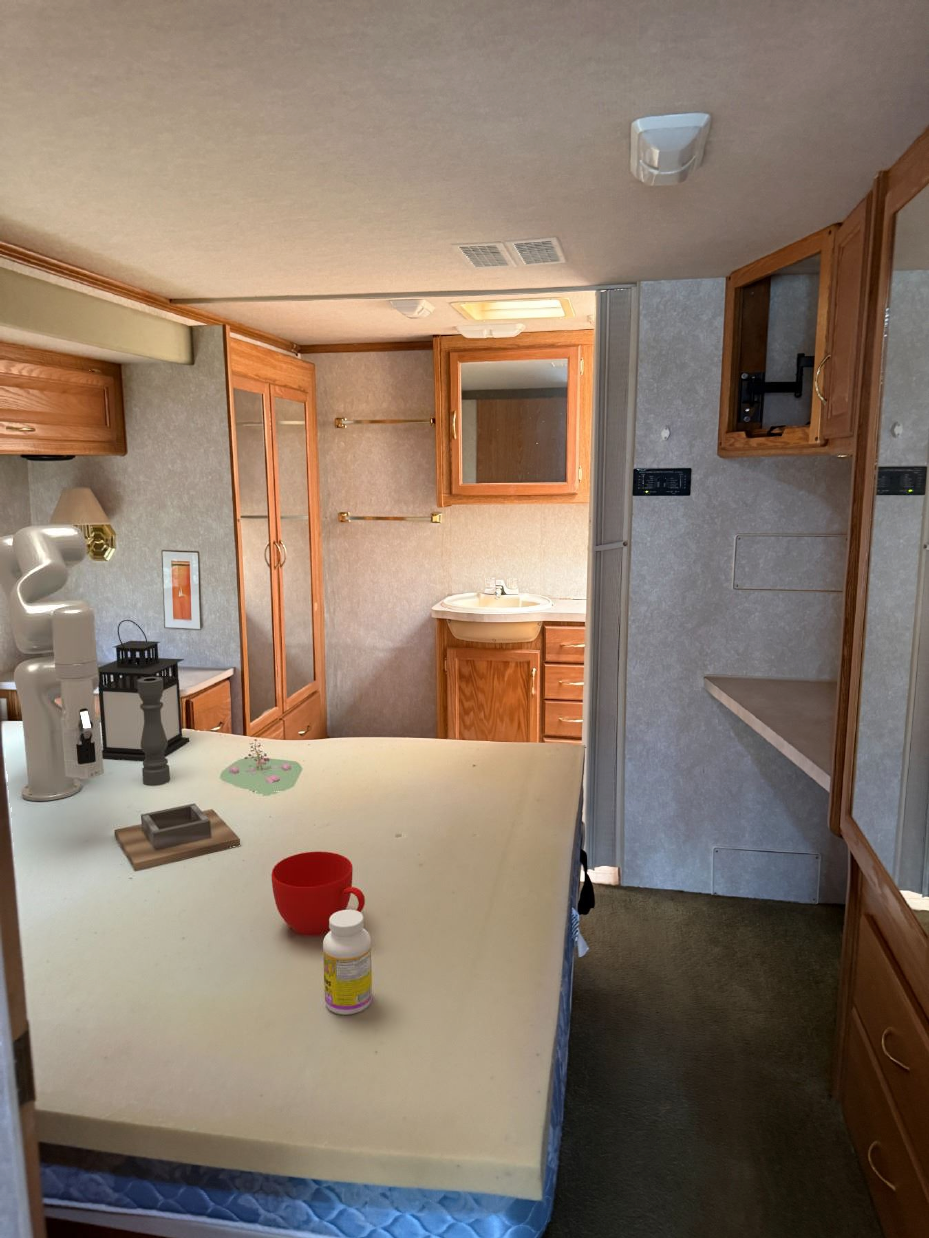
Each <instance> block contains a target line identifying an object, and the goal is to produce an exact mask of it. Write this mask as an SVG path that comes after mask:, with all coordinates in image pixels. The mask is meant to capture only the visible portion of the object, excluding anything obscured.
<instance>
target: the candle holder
mask: <svg viewBox="0 0 929 1238" xmlns="http://www.w3.org/2000/svg"><path fill="white" fill-rule="evenodd" d="M137 683H138V694H139V695H140V698H141V700H142V701H143V703H142V704H141V705H140V708H141V709H142V710H143V712H144V727H143V732H142V738H141V749H142V751H143V752H144V753H145V756H146V758H145V760H144V761H143V762H142V766H143V767H142V769H141V772H142V776H141V777H142V784H143V785H144V786H148V787H151V786H152V787H155V786H161V785H166V784H167V783H169V782H170V781H171V774H170V771H171V770H170V765H169V764H168V762H169V760H168V758H166V757H165V756H163V755H164V754H165V753H164V751H165V750H166V748H167V745H168V742H167V738H166V735H165V732H164V729H163V725H162V722H161V708H162V707H163V703H162V702H160V700H161V697H162V693H163V678H161V677H146V678H141V679H138V680H137Z"/></svg>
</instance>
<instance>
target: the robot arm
mask: <svg viewBox="0 0 929 1238" xmlns="http://www.w3.org/2000/svg"><path fill="white" fill-rule="evenodd" d="M87 547H88V545H87V541H86V537H85V535H84V533H83V531H82V530H81V529H80V528H79V527H77V526H75V525H72V524H54V525H53V524H51V525H30V526H26V527H23V528H20V529H18V531H16V532H15V534H10V535H9V534H8V535H4V536H0V587H1V589H2V590H3V592H4V595H5V597H6V600H7V604H8V610H9V615H10V623H11V628H12V632H13V637H14V641H15V645H16V647H17V649H18V650H19V651H20V652H21V653H24V654H27V655H28V654H31V655H32V654H33V655H34V654H35V655H36V654H46V653H53V655H51V656H42V657H35V658H30V659H28V660H24V661H23V662H20V663H19V664H18V665H16V667H15V668H14V672H13V681H14V685H15V688H16V692H17V697H18V700H19V705H20V711H21V717H22V718H21V719H22V730H23V737H24V738H23V739H24V751H25V760H26V761H25V763H26V773H27V775H26V776H27V782H28V783H27V785H25V786H24V787H23V788H22V789H21V791H20V792H21V793H20V794H21V797H22V798H23V799H24V800H27V801H32V802H46V801H55V800H60V799H64V798H67V797H70V796H73V795H74V794H76V793H78V792H79V791H81V790H82V788H83V785H82V781H81V779H79V778H72V777H66V775H65V763H64V751H63V739H62V727H61V718H64V721H65V726H66V728H67V729H68V730H69V731H70V732H72V731H73V730H76V734H77V741H78V744H76V748H77V761H78V764H80V765H81V764H87V763H92V762H95V761H96V756H95V742H94V738H93V732H92V729H93V728H94V727H95V725H96V718H95V716H96V703H95V693H94V692H95V691H96V690H97V689H98V685H99V669H98V667H99V664H98V655H97V642H96V630H95V629H96V627H95V621H96V620H95V613H94V609H93V607H92V606H91V605H90V604H89V603H88V601H85V600H82V599H69V600H56V601H50V597H49V596H50V595H53V594H55V593H56V592H58V591H59V590H61V589H62V588H64V586H65V585H66V584H67V582H68V579H69V576H70V575H69V569H71V568H73V567H75V566H77V565H79V564H81V563H82V562H83V561H84V560H85V558H86V556H87V553H88V551H87V549H88V548H87ZM60 698H61V704H59V703H57V701H55V700H57V699H60ZM91 722H93V723H92V724H91ZM81 725H82V727H83V728H78V726H81ZM80 732H83V733H81V736H80Z"/></svg>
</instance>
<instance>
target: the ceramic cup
mask: <svg viewBox="0 0 929 1238" xmlns="http://www.w3.org/2000/svg"><path fill="white" fill-rule="evenodd" d="M271 886H272V892H273V897H274V902H275V906H276V908H277V911H278V913H279V915H280V916H281V918H282V919H283V920H284V922H285V924H287V925H288V926H289V927H290V928H291V929H292V930H294V932H295V933H296V934H298V935H301V936H305V937H317V936H321V935H325V934H326V933H327V934H328V933H329V932H330V931H331V930H330V928H329V919H330V917H331V915H333V914H334V913H336V912H338V911H342V910H347V907H348V905H349V904H350V900H351V895H354V896H355V897H356V899H357V903H358V905H357V908H356V909H355V910H356V911H359V912H360V913H361V912H362V911H363V910H364V908H365V905H366V899H365V895H364V893H363V891H362V890H360V889H359V887H355V886H353V864H352V862H351V860H349V858H347V857H345V856H343V854H340V853H336V852H330V851H307V852H300V853H297V854H293V855H290V856H288V857H285V858H283V859H281V860H280V861H278V862H277V863H276V864H275V865H274V866H273V868H272V871H271Z"/></svg>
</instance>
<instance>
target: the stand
mask: <svg viewBox="0 0 929 1238" xmlns="http://www.w3.org/2000/svg"><path fill="white" fill-rule="evenodd" d="M140 820H141V823H140V824H134V825H130V826H125V827H121V828H115V829H114V838H115V839H116V841H117V843H118V845H119V844H120V845H119V847H120V848H121V849H122V851H123V853H124V855H125V857H126V858H127V860H128V862H129V864H130V865H131V866H132V868H133V870H134V871H141V870H145V869H149V868H154V867H158V866H162V865H165V864H169V863H173V862H178V861H183V860H185V859H190V858H195V857H199V856H203V855H207V854H212V853H215V852H220V851H224V850H228V849H227V848H229V849H231V848H230V847H233V846H237V847H240V846H241V838H240V837H239V836H238V835H237V833H235V832H234V831H233V830H232V828H231V827H230V826H229V825H228V824H227V823H226V822H225V820H223V818H221V816H219V814H218V813H216V811H215V810H214V809H213V808H211V809H207V810H202V809H200V807H199V806H198V805H197V804H196V803H195V802H194V803H191V804H186V805H181V806H176V807H171V808H167V809H166V808H165V809H161V810H155V811H151V812H146V813H142V814H140ZM239 845H240V846H239ZM233 848H234V847H233ZM223 849H224V850H223Z"/></svg>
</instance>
